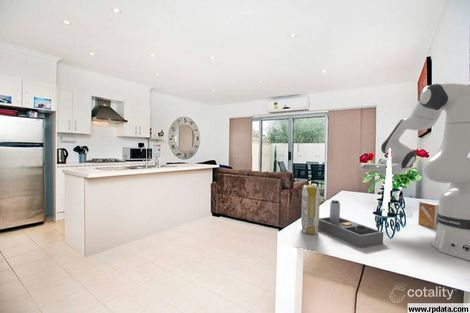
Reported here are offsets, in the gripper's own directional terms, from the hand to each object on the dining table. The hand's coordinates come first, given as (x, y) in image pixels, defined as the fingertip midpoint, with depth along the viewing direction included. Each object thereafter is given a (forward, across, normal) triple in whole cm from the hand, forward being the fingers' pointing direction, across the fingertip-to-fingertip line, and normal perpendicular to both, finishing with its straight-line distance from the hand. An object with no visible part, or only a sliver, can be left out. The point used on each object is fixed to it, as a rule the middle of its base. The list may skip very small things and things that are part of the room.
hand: (369, 167), depth 125 cm
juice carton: (+39, -2, +32) cm, 51 cm away
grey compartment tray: (+25, +8, +32) cm, 41 cm away
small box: (-32, +14, +32) cm, 47 cm away
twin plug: (+25, +16, +30) cm, 42 cm away
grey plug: (+25, 0, +30) cm, 39 cm away
